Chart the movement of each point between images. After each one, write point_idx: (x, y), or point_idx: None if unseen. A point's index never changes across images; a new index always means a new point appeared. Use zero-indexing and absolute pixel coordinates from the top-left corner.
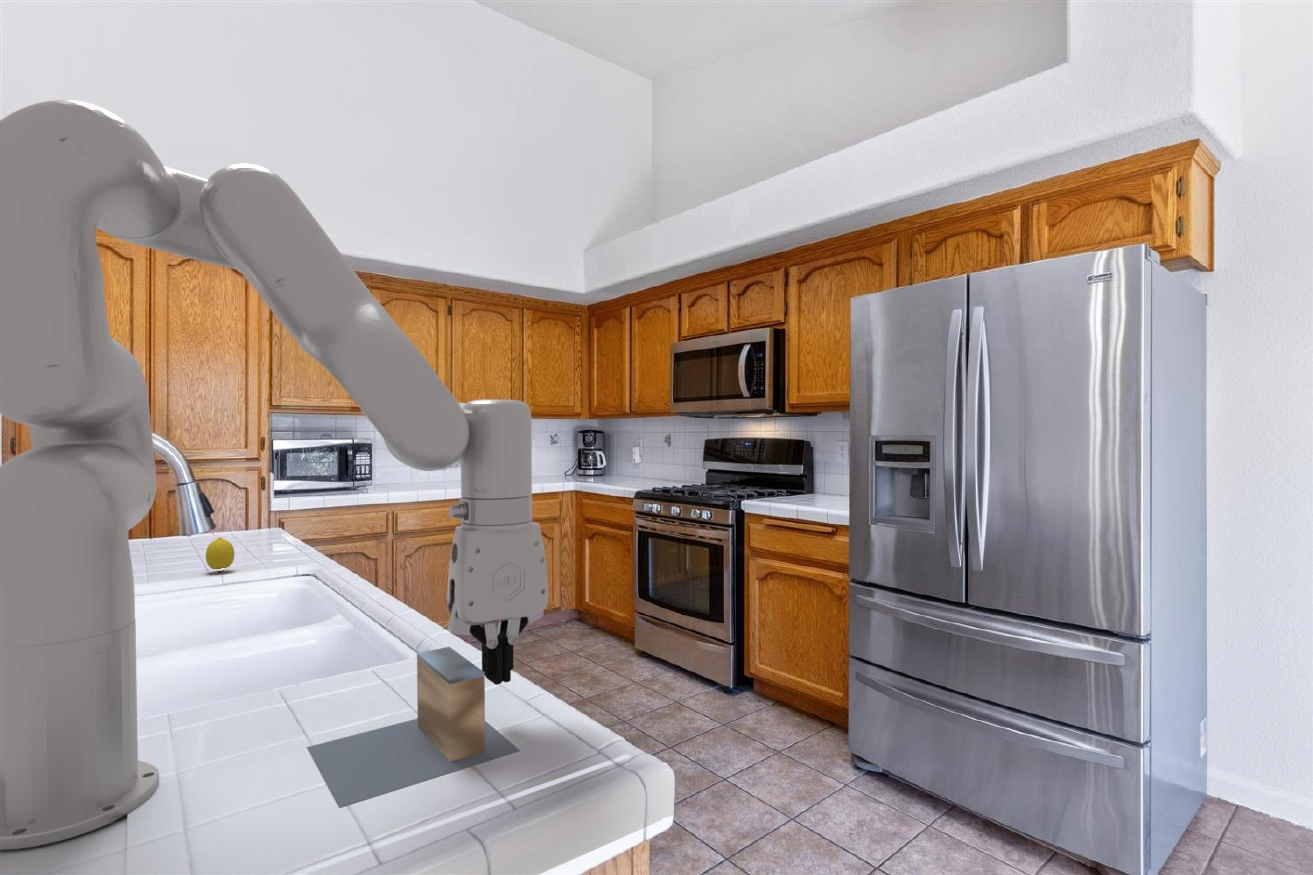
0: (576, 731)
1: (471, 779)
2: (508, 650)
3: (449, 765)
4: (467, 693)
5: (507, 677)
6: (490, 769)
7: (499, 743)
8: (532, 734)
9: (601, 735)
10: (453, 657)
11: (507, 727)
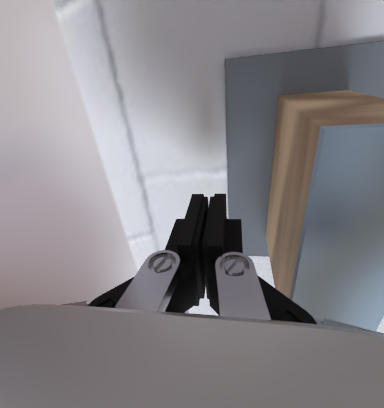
0: (111, 92)
1: (347, 5)
2: (186, 235)
3: (357, 75)
4: (366, 114)
5: (199, 197)
6: (296, 28)
7: (244, 110)
8: (179, 125)
9: (74, 49)
10: (318, 287)
11: (204, 171)
